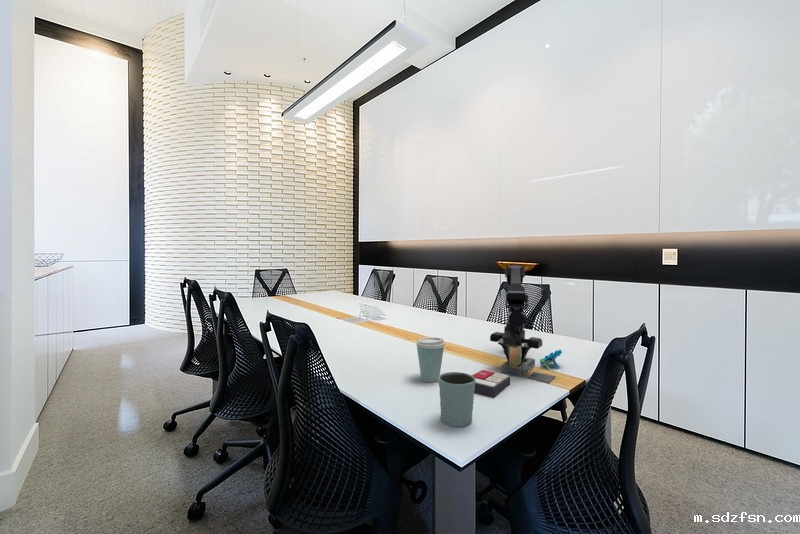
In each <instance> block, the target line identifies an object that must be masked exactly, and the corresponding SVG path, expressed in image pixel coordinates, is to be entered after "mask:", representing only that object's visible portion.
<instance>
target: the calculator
mask: <svg viewBox="0 0 800 534" xmlns="http://www.w3.org/2000/svg"><path fill="white" fill-rule="evenodd" d="M471 375H472V376H473V377H474V378H475V380H476V382H475V390H474V395H475V394H476V395H479V396H483V397H487V398H491V399H495V398H496V397H497V396H498V395H499V394H500V393H502V392H503V391H504V390H506V389H507V388H508V387H509V386H510V385H511V376H510V375H508V374H504V373H498V372H494V371H489V370H485V369H481V370H480V371H477V372H476V373H474V374H471ZM506 387H507V388H506Z"/></svg>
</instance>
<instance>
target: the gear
mask: <svg viewBox="0 0 800 534" xmlns="http://www.w3.org/2000/svg"><path fill="white" fill-rule="evenodd" d="M562 353H563V350H562V349H557V350H555V351H554V352H553V351H552V352H550V353H549V354H547V355H545V356H544V357H543V358H540V359H539V364H540V365H543V366H545V367H546V368H547V370H548V371H549V370H550V367H549V364H551V363H553V364H554V365H555V368H556V369H559V368H560V366H559V364H558V363H557V361H556V359H557V357H560V356H561V354H562Z"/></svg>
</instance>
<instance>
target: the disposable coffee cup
mask: <svg viewBox="0 0 800 534" xmlns="http://www.w3.org/2000/svg"><path fill="white" fill-rule="evenodd" d="M445 344H446V343H445V341H444V338H443V337H435V336H434V337H433V336H432V337H431V336H430V337H423V338H419V339H418V340H417V341H416V348H417V357H418V364H419V365H418V366H419V372H420V378H421V380H422V381H423V382H427V383H433V382H437V381H438V382H439V376H440V375H441V368H442V363H443V355H444V348H445V346H446V345H445Z"/></svg>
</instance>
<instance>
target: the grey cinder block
mask: <svg viewBox="0 0 800 534" xmlns="http://www.w3.org/2000/svg"><path fill="white" fill-rule="evenodd" d="M534 366H535V367H536V359H535V358H531V357H525V359H524V362H523V363H521V366H519V367H517V366H512V365H509V361H508V360H506V361H504V362H503V363H502V364H500V374H504V375H508V376H512V377H517V378H523V377H524V376H525V375H526V374H527V373H528V371H529V370H530V371H531V370H532V369H534V368H535V367H534ZM530 371H529V372H530Z"/></svg>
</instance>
